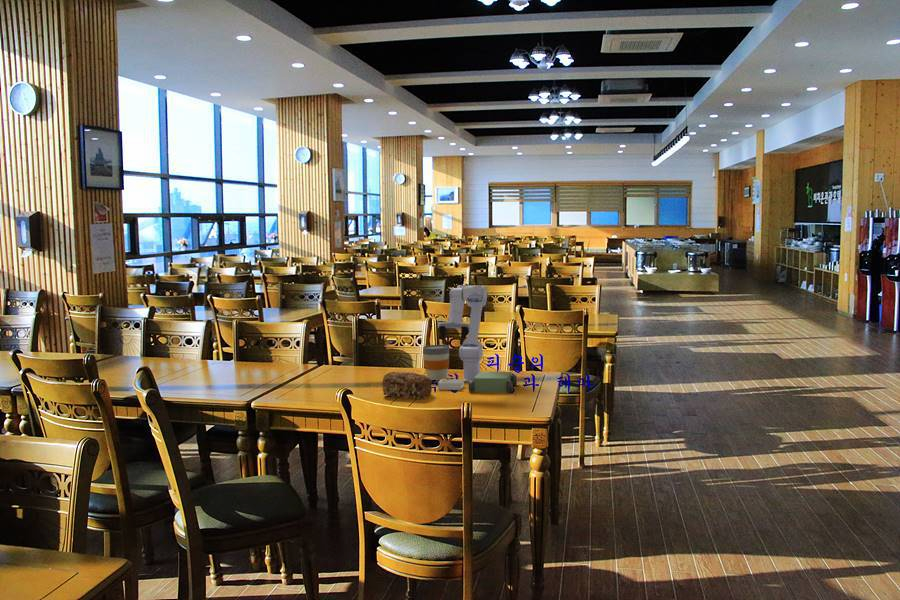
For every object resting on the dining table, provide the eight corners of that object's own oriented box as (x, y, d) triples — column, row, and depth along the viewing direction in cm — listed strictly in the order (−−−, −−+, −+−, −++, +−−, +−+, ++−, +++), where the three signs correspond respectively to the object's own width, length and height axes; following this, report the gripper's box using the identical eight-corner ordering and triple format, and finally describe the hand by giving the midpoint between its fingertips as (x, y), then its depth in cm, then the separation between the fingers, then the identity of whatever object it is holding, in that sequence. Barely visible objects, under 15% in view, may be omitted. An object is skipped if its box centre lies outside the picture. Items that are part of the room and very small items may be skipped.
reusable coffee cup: (452, 375, 361) (450, 344, 359) (449, 381, 348) (448, 348, 347) (425, 376, 362) (424, 344, 360) (422, 381, 349) (420, 349, 348)
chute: (442, 386, 337) (441, 379, 336) (464, 386, 334) (464, 379, 334) (438, 389, 330) (437, 382, 329) (460, 389, 328) (460, 382, 327)
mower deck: (476, 384, 338) (476, 371, 338) (517, 384, 334) (516, 371, 334) (468, 393, 321) (468, 379, 321) (511, 393, 317) (510, 379, 317)
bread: (382, 397, 321) (380, 373, 320) (396, 391, 330) (395, 369, 329) (419, 400, 312) (418, 376, 311) (433, 395, 321) (432, 371, 320)
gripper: (437, 310, 325) (433, 340, 321) (470, 311, 322) (467, 341, 317) (441, 316, 332) (437, 345, 327) (473, 317, 328) (470, 347, 324)
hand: (452, 344), depth 322 cm, fingers open, 7 cm apart
